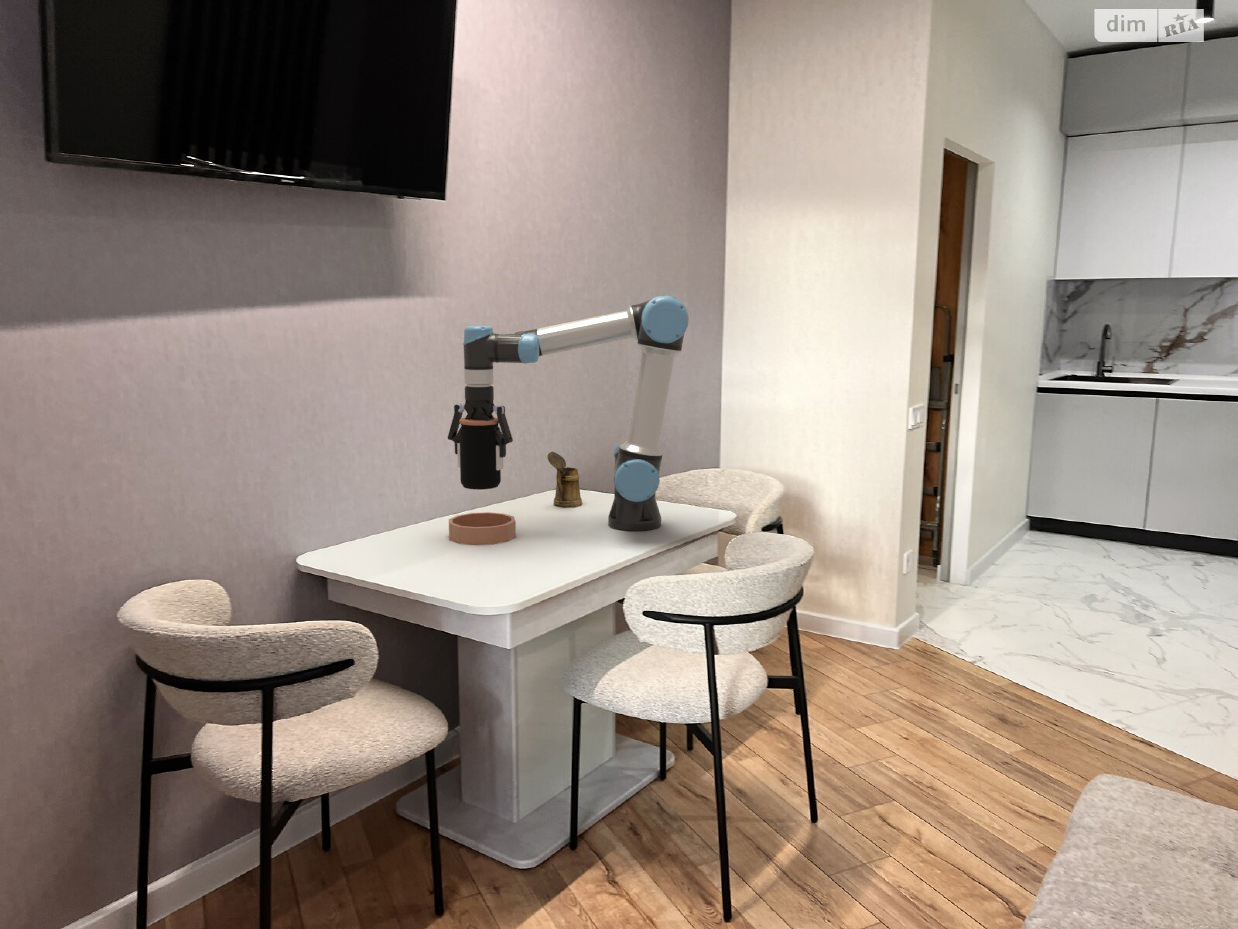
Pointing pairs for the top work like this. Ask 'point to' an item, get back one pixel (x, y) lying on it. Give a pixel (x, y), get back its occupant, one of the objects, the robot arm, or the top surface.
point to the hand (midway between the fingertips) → (480, 467)
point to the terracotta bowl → (482, 528)
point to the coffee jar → (478, 454)
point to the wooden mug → (565, 483)
